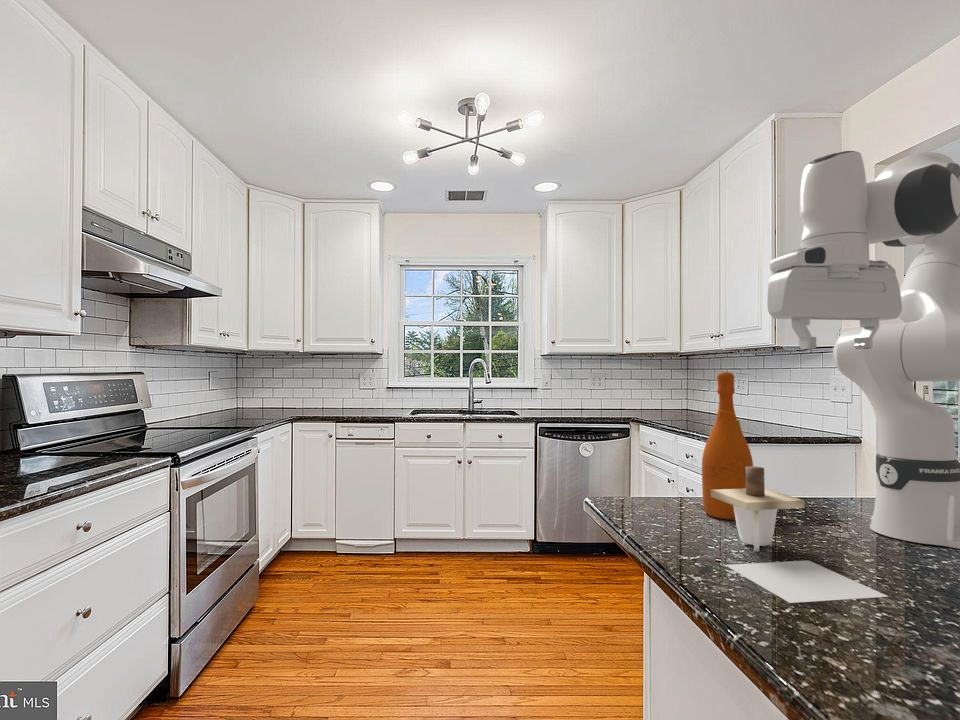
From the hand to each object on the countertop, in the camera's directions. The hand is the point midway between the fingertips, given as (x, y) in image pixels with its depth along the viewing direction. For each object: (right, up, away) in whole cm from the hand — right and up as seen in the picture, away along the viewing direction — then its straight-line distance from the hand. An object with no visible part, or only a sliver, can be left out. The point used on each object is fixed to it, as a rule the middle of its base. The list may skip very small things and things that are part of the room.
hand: (835, 349), depth 82 cm
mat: (-9, -33, -6) cm, 35 cm away
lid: (-8, -25, +8) cm, 28 cm away
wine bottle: (-2, -34, +31) cm, 46 cm away
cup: (-8, -34, +8) cm, 35 cm away
